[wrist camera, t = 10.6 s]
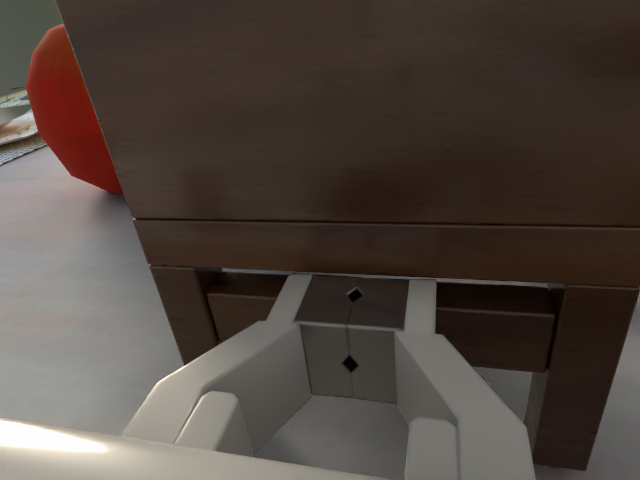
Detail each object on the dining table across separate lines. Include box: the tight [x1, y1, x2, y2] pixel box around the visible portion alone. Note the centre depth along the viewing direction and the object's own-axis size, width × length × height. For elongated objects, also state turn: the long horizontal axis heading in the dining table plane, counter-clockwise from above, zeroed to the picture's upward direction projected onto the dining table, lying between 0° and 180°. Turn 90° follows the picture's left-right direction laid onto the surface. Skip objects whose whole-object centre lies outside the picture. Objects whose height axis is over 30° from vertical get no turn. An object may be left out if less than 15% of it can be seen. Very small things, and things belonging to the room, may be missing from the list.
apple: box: [26, 24, 124, 194], centre depth 30 cm, size 10×10×12 cm
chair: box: [55, 0, 640, 471], centre depth 12 cm, size 10×10×16 cm
